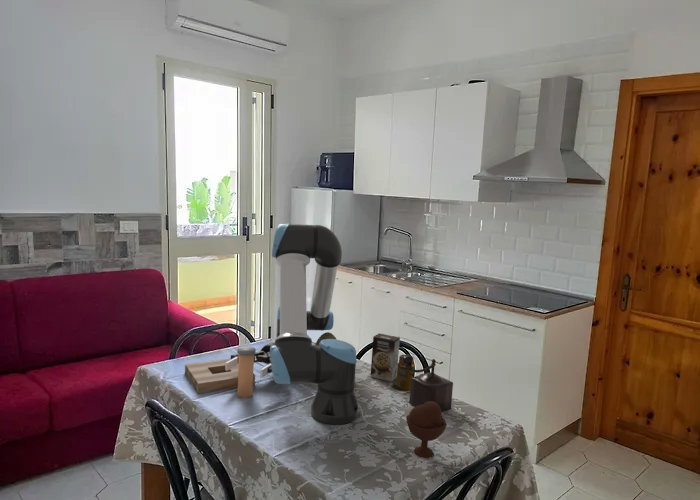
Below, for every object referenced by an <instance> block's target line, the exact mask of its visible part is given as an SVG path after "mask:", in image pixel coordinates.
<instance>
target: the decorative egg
mask: <svg viewBox="0 0 700 500" xmlns="http://www.w3.org/2000/svg"><path fill="white" fill-rule="evenodd" d="M324 339H325V340H326V339H336V340H338V339H337V337H336V336H335V335H334V334H333V333H332V332H330V331H329V332H324V333H322V334H321V335H320V336H319V337H318V339H317V340H316V342H315V344H314V345H319V343H320V341H321V340H324Z"/></svg>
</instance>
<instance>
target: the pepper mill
mask: <svg viewBox="0 0 700 500" xmlns="http://www.w3.org/2000/svg"><path fill="white" fill-rule="evenodd" d="M404 355H405V356H403V358H402V362H403V363H404V364H405V367H404V368H405V369H406V370H410V371H412V372H414V373H417V374H418V373H420V374H419V375H415V376H413V377H411V386H410V392H409V399H408V404H410V405H411V406H413V408H414V407H416V406H418V405H421V404H422V405H423V404H424V403H425V402H429V401H432V402H436V403H437V404H438V405H439V406H440V408H441V411H442V413H443V412H446V411H447V410H448V411H449V410H450V409H452V400H453V398H452V397H453V391H454V390H453V389H454V382H453V381H451V380H450V379H447V378H445V377H442V376H440V375H438V374H437V373H435V366H436V359H434V358H432V359H431V364H430V365H428V366H427V367H425V368H424V367H423V368H421V369H415V368H414V369H412V368H413V366H412V362H414V360H413V358H414V356H412V355H410V354H404ZM430 369H431V371H430V372H427V371H429V370H430Z"/></svg>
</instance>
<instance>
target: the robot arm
mask: <svg viewBox="0 0 700 500" xmlns="http://www.w3.org/2000/svg"><path fill="white" fill-rule="evenodd" d="M271 257H272V258H274V259H275V263H276V264H277V265H278V266H279V268H280V270H279V271H280V272H279V280H280V281H279V286H280V287H279V307H277V317H276V336H275V337H276V338H275V339H274V340H272V341H270V342H269V343H267V344H265V345H264V346H263V347H261V349H260V350H259V351H256V352H255V353H254V363H264V364H266V365H265V366H264V367H263V368H261V369H260V378H264V377H266V376H267V375H268V374H272V375H271V376H272V378H273V381H274V383H276V384H278V385H280V384H281V385H288V386H289V385H305V384H306V385H307V384H308V385H309V384H311V385H313V384H317V390H316V392H315V395H314V398H313V401H312V403H311V406H310V415H311V417H312V418H313V419H315V420H316V421H318V422H320V423H323V424H328V425H329V424H330V425H345V424H348V423H351V422H352V423H353V422H354V421H355V420H357V418H358V416H359V404H358V402H357V401H358V400H357V397H356V393H355V382H356V381H355V380H356V370H357V369H356V368H357V367H356V364H357V362H358V361H357V350H356V348H355V346H354V345H353V344H351V343H349V342H347V341H344V340H340V339H337V338H336V339H337V340H336V339H326V340H325V339H324V340H321V341H320V343H319V345H315V344H313V341H312V338H311V337H310V336H309V335H308V333H307V332H308V331H320V332H322V331H330V330H332V329H333V328H334V322H335V321H334V313H333V311H331V305H332V300H333V293H334V288H335V283H336V276H337V271H338V267H339V266H340V265H341V263H342V258H343V250H342V246H341V243H340V241H339V238H338V236H337V235H336V234H335V233H334V231H332V230H331V229H330V228H328V227H326V226H324V225H321V224H300V223H299V224H298V223H297V224H296V223H295V224H294V223H292V224H291V223H279V224H278V225H276V227H275V231H274V237H273V244H272V249H271ZM311 259H314V261H315V263H316V267H315V275H314V281H313V282H314V283H313V290H312V295H311V297H312V298H311V305H310V310H309V311H308V310H307V266H308V265H309V264H310V263H311ZM230 358H231V360H229V361H228V362H226V363H225V370H226V371H228V370H229V369H231V368H233V367H235V366H236V365H238V363H239V354H238V353H234V354H231V355H230Z"/></svg>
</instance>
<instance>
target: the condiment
mask: <svg viewBox="0 0 700 500" xmlns="http://www.w3.org/2000/svg"><path fill="white" fill-rule="evenodd" d="M405 355H406V354H400V355H399V356H398V367H397V377H396V384H393V385H389V386H387V388H388V389H390V390H392V391H394V392H397V393H398V394H401V395H404V394H406V393H410V386H411V377H414V373H415V372H412V371H410V370H406V369H405V368H404V367H405V364H404V363H403V362H402V358H403V356H405ZM414 358H415V357H413V362H412V366H413V368H412V369H414V370H415V364H414V361H415V359H414Z"/></svg>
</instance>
